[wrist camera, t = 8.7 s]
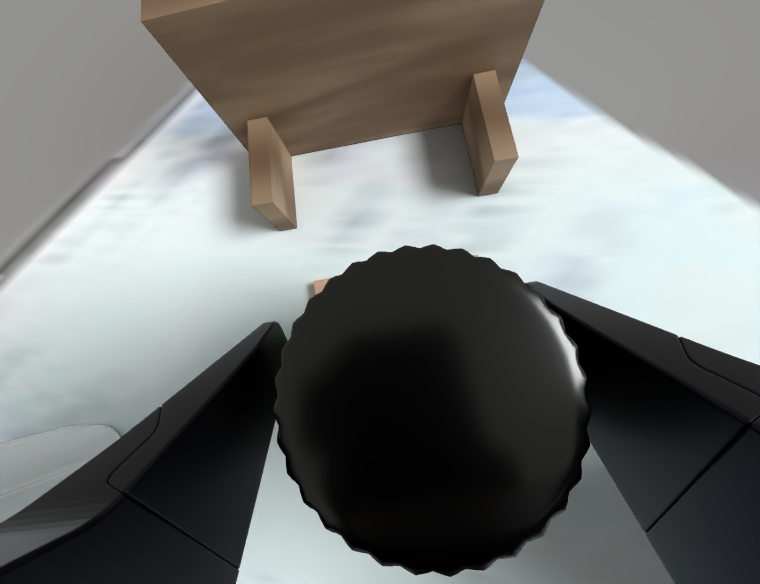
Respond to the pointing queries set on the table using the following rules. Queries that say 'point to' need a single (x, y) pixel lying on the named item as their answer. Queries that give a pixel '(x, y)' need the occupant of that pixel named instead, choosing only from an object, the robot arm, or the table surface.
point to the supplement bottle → (432, 410)
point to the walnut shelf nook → (348, 76)
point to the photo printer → (46, 462)
